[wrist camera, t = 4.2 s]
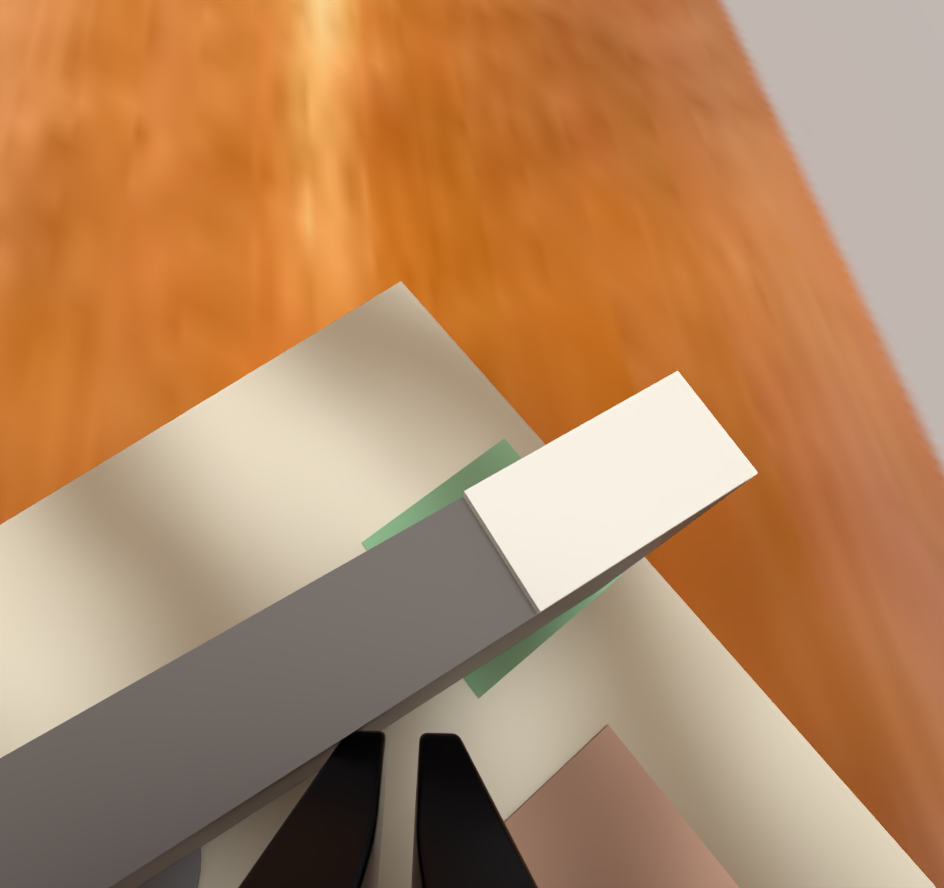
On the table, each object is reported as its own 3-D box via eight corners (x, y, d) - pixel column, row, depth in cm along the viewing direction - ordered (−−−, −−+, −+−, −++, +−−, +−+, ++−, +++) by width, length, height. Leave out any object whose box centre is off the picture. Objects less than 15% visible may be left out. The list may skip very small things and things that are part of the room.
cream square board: (93, 2069, 8) (66, 2184, 8) (-385, 779, 13) (-428, 782, 12) (954, 925, 14) (981, 936, 13) (401, 294, 18) (400, 278, 17)
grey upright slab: (28, 977, 12) (-765, 1490, 4) (-11, 859, 12) (-772, 1097, 4) (605, 600, 15) (820, 459, 7) (552, 522, 15) (696, 308, 7)
